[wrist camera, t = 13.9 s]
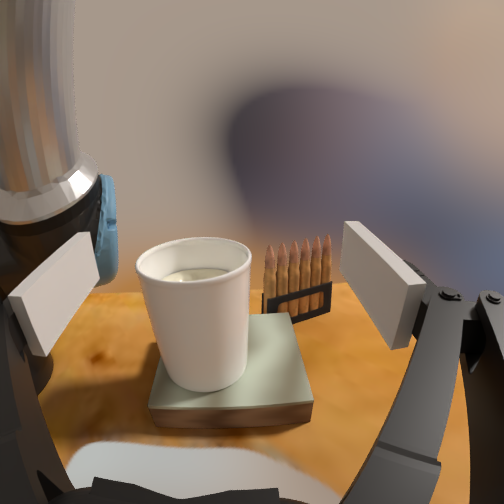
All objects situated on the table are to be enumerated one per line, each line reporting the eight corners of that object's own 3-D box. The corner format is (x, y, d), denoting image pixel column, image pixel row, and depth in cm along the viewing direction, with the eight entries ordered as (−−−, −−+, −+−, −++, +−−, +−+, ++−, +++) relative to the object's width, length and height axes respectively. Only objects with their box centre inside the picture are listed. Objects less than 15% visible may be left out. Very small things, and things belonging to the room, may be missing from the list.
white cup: (256, 337, 34) (253, 236, 30) (252, 401, 25) (248, 283, 21) (172, 334, 35) (156, 237, 30) (147, 393, 26) (115, 281, 21)
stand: (156, 426, 26) (147, 405, 24) (175, 338, 39) (171, 317, 38) (310, 421, 26) (313, 400, 25) (287, 333, 40) (288, 312, 39)
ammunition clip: (266, 332, 41) (266, 248, 36) (260, 325, 42) (259, 243, 38) (330, 311, 45) (337, 234, 40) (323, 305, 46) (329, 231, 42)
